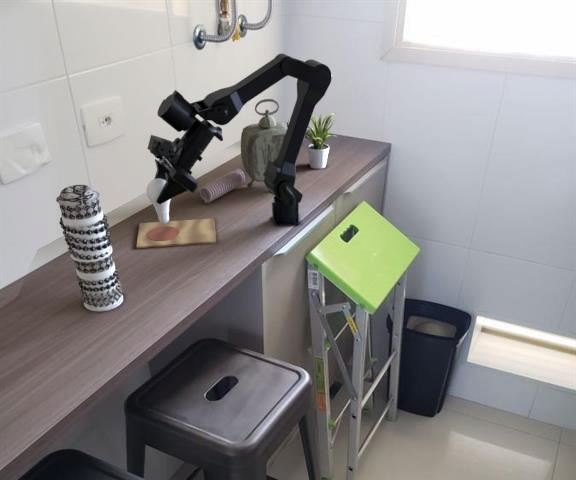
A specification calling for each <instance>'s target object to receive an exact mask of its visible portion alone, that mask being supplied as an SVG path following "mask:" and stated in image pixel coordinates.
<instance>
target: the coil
mask: <svg viewBox="0 0 576 480" xmlns="http://www.w3.org/2000/svg"><path fill="white" fill-rule="evenodd" d="M245 181H246V176H245V173H244V171H243V170H242V169H240V168H235V169H233V170H231V171H229V172H228V173H226V174H223V175H222V176H220V177H218V178H217V179H215V180H212V181H210V182H208V183H207V184H205V185H203V186H201V187H200V189H199V195H200V198H201V199H202V200H203V203H204V204H210V203H211V202H213V201H215V200H217V199H218V198H220V197H222V196H224V195H225V194H227V193H230V191H231V192H232V190H234V189H236V188H238V187H239V186H241V185H243V184H244V183H245Z"/></svg>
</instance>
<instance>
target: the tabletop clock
mask: <svg viewBox="0 0 576 480" xmlns="http://www.w3.org/2000/svg"><path fill="white" fill-rule="evenodd" d="M262 103H274V104H275V105H276V107H277V108H276V109H275V110H273V111H270V110H269V109H265V110H264V111H265V112H260V111H258V110H257V109H258V107H259V105H261V104H262ZM279 109H280V104H279V102H278V101H277V100H275V99H273V98H264V99H261V100H259V101H258V102H257V103H255V106H254V111H255V113H256V114H257V115H259V116H262V117H261V118H260V119H259V121H258V123H252V124H248V125H246V126H244V127H243V128H242V131H241V135H240V155H241V163H242V166H243V169H244V172H246V174H247V176H249V178H250V179H251V181H249V182H248V183H247V187H248V188H250V189H251V188H253V186H254V184H253V183H254V182H264V176H263V174H264V172H265V170H266V167H267V162H268V160H270V161H271V162H273V161H274V160H275V159H276V158H277V157H278V155H279V152H280V149H281V146H282V143H283V140H284V137H285V134H286V131H287V128H288V127H287V125H286V124H285V123H283V122H279V121H276V119H275V118H274V117H273V115H275V114H276V113H277V112H278V111H279Z"/></svg>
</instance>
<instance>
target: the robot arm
mask: <svg viewBox="0 0 576 480" xmlns="http://www.w3.org/2000/svg"><path fill="white" fill-rule="evenodd" d="M287 77H292V78H293V79H297V80H296V99H295V104H294V106H293V110H292V112H291V115H290V119H289V121H290V122H289V125H288V128H287V131H286V134H285V137H284V140H283V143H282V146H281V149H280V152H279V155H278V157H277V158H276V159H275V160H274V161H273V162H271V161H270V160H268V162H267V167H266V170H265V172H264V174H263V176H264V181H263V184H264V185H265V187H266V188H267V190H269V191H270V192H271V194H272V195H273V202H271V215H272V216H271V217H272V220H273V222H274V224H275V226H291V225H300V224H301V222H300V218H299V216H300V215H299V204H300V203H301V202H302V199H303V193H302V192H300V191H299V190H298V189H297V188H296V187H295V184H296V179H297V178H296V177H297V174H296V173H297V172H296V170H297V169H296V164H297V160H298V157H299V154H300V151H301V148H302V146H303V144H304V140H305V139H304V137H305V134H306V131H307V132H308V129H309V128H308V126H309V124H310V122H311V121H312V120H311V118H312V114H313V115H314V111H315V109H316V108H315V107H317V104H319V102H320V101H321V100H322V99H323V98H324V97H325V95H326V93H327V92H328V89H329V87H330V85H331V83H332V79H333V74H332V71H331V68H330V67H329V66H327V64H325V63H322V62H320V61H317V60H316V59H306V60H305V61H303V60H300V59H298V58H295V57H292V56H290V55H288V54H286V53H278V54H277V55H275V57H274V58H273V59H271V60H269V61H268V62H266V63H265V64H264V65H262V66H261V67H259V68H258V69H256V70H255V71H253V72H252V73H250V74H249V75H247V76H245V77H244V78H243V79H241V80H240V81H238V82H236V83H235V84H233V85H230V86H227V87H222V88H219V89H217V90H215V91H212V92H210V93H207V94H206V96H205V97H204V98H203V99H200V100H197V101H193V102H189V101H188V100H187V99H186V98H185V97H184V96H183V95H182V94H181V92H179V91H178V90H176V89H175V90H174V91H173V92H172V93H171V94H169V95H168V96H167V97H166V98H164V99H163V100H162V102H161V103H160V105H159V107H158V109H157V116H158V117H159V118H160V119H161V120H163V121H164V122H165V123H166V124H168V125H169V126H170V127H171V128H172V129H174V130H175V131H176V132H178V133H181V132H182V131H183V132H184V133H183V135H182V136H181V137H179V136H178V137H176V138H175V139H174V140H173V141H172V140H169V139H167V138H163V137H160V136H157V135H155V134H154V135H153V134H151V135H150V137H149V141H148V145H147V150H149V152H150V154H152V155H153V156H154V157H155V159H154V162H155V166H156V171H155V175H154V179H157V178H160V179H164V180H166V183H165V185H164V187H163V189H162V191H161V193H160V195H159V196H158V199H157V201H156V202H157V203H158V204H162V203H164V202H166V201H167V200H169V199H171V200H172V199H174V198H175V197H177V196H180V195H181V194H184V193H185V192H186V193H187V192H190V193H191V194H195V192H196V190H197V189H198V188H199V185H198V180H197V179H196V178H195V177H194V176H193V171H192V168H193V167H194V166H195V164H196V163H197V162H198V161H199V162H201V161H202V160H203V157H202V154H203V153H204V152H205V150H207V148H208V146H209V144H210V143H211V142H212V140H213V139H214V138H216V139H217V140H218V141H220V142H223V141H224V138H223V137H224V136H223V128H222V127H221V126H225V125H227V124H229V123H230V122H231V121H232V120H233V119H235V117H237V116H238V115H239V113H240V112H241V111H242V109H243V107H244V106H245V105H247V103H248V102H250V101H251V100H253V99H254V98H256V97H257V96H258V95H261V94H262V93H263V92H265V91H266V90H268V89H269V88H271V87H273V86H274V85H276V84H277V83H278V82H280V81H281V80H283V79H284V78H287ZM197 115H198V116H199V117H200V118H201V119H202V120H200V119H199V118H198V117H196V116H197ZM210 121H211V122H210ZM212 122H213V123H214V124H215V125H217V126H215V125H214V124H212Z"/></svg>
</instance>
